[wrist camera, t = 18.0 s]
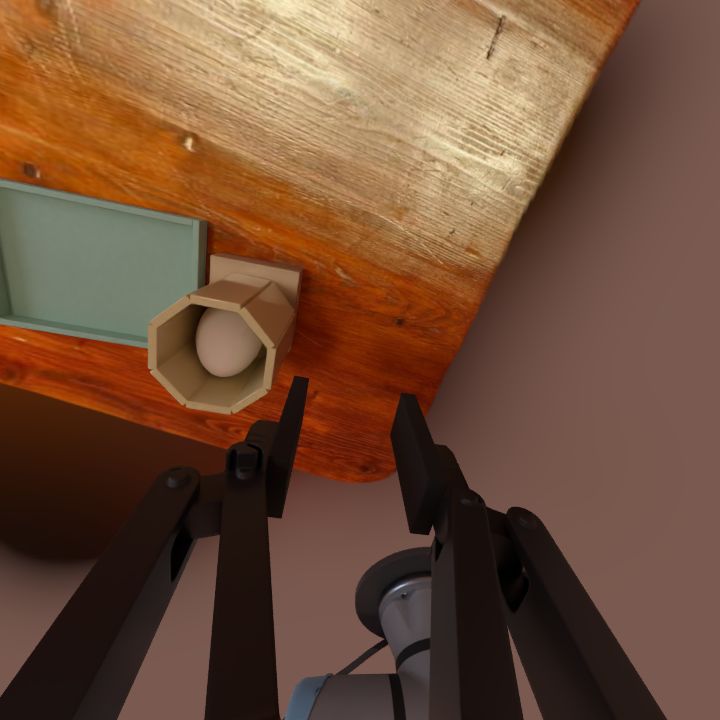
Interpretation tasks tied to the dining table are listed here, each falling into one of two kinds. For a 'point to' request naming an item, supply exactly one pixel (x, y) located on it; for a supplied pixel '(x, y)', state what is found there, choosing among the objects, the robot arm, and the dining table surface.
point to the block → (260, 275)
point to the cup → (179, 353)
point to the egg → (225, 342)
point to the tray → (93, 263)
